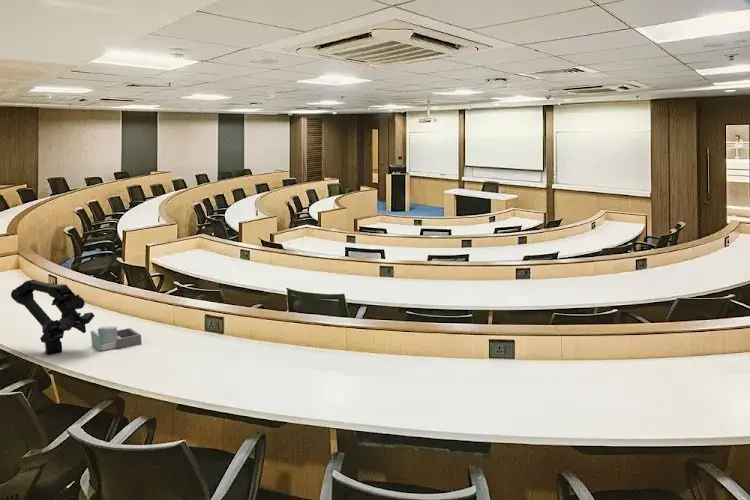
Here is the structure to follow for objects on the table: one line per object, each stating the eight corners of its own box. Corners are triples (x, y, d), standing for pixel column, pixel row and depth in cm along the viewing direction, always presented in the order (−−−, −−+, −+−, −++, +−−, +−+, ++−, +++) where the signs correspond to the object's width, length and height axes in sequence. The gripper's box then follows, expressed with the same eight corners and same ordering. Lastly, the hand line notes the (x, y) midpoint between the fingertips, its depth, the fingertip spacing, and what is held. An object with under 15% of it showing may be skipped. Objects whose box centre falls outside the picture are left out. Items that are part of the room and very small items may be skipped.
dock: (117, 349, 280) (116, 339, 280) (107, 341, 292) (106, 332, 291) (141, 344, 288) (140, 334, 288) (130, 336, 300) (130, 327, 299)
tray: (99, 351, 276) (98, 336, 275) (91, 345, 286) (90, 330, 284) (125, 345, 285) (124, 330, 283) (117, 340, 294) (115, 325, 293)
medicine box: (118, 342, 287) (117, 326, 286) (114, 345, 283) (113, 328, 282) (102, 342, 287) (101, 326, 286) (98, 345, 283) (97, 328, 281)
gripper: (41, 323, 267) (60, 346, 275) (72, 317, 262) (91, 341, 270) (55, 307, 276) (73, 330, 284) (85, 302, 271) (103, 326, 279)
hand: (84, 332), depth 279 cm, fingers closed
